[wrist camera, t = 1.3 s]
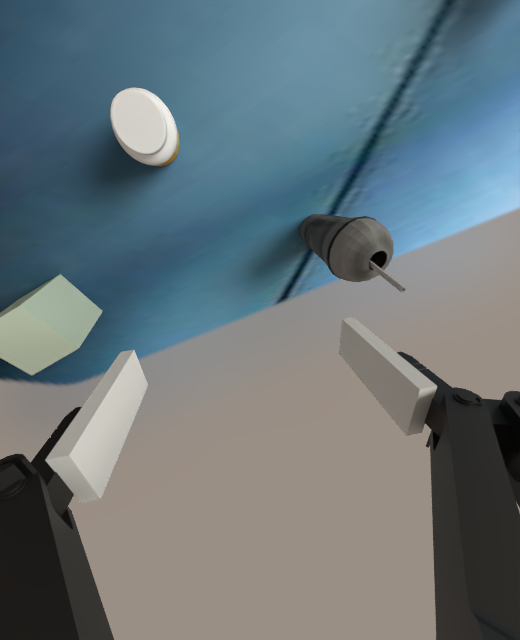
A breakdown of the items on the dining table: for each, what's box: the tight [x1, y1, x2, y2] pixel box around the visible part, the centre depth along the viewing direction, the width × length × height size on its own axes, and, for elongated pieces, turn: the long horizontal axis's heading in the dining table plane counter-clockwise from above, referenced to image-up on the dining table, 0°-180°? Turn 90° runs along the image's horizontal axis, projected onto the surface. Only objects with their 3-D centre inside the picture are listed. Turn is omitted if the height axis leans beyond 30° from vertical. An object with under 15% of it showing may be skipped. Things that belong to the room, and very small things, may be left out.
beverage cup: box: [300, 214, 406, 292], centre depth 28 cm, size 7×7×20 cm
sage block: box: [0, 274, 103, 375], centre depth 30 cm, size 7×7×9 cm
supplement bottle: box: [111, 88, 180, 166], centre depth 22 cm, size 5×5×10 cm
